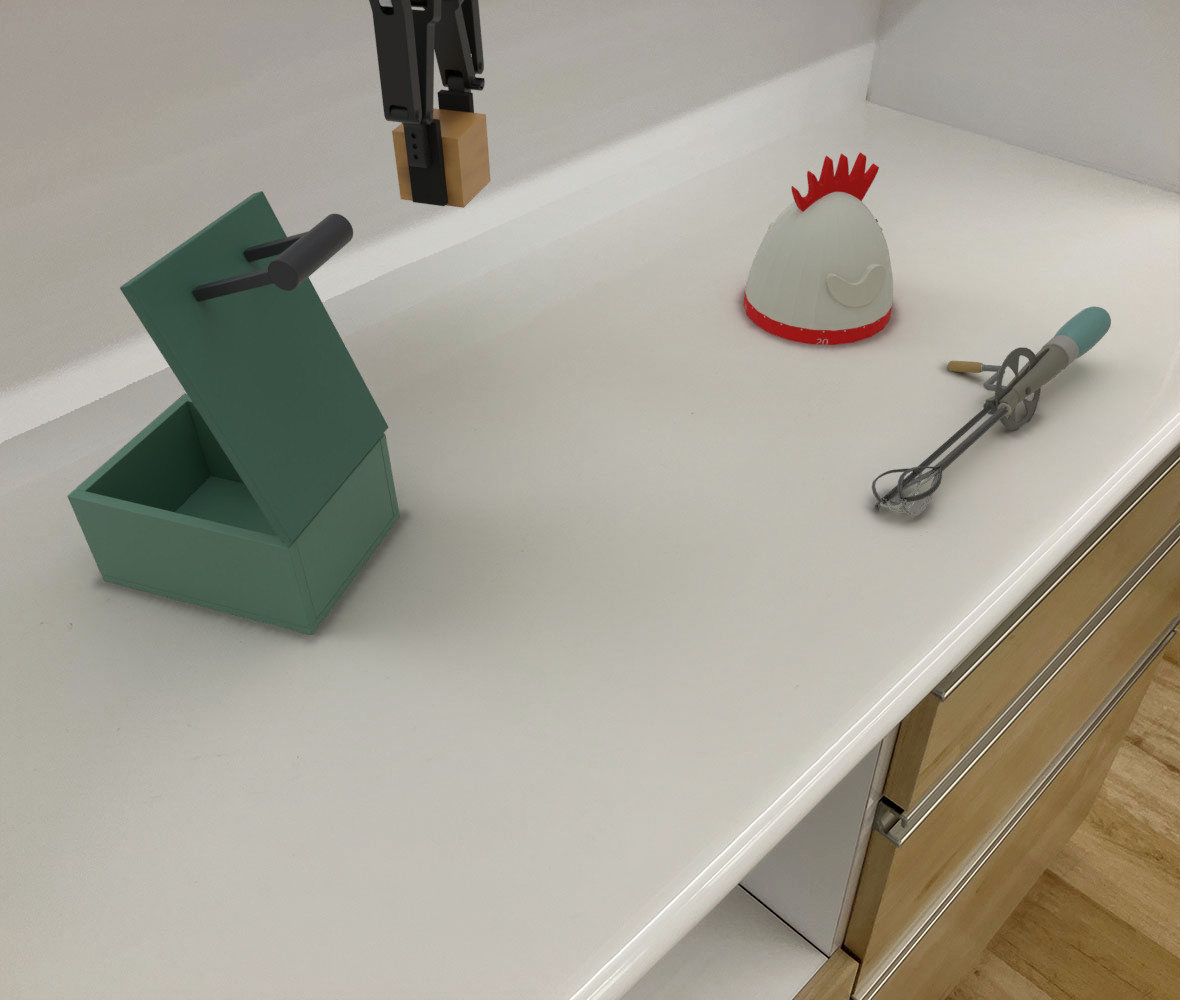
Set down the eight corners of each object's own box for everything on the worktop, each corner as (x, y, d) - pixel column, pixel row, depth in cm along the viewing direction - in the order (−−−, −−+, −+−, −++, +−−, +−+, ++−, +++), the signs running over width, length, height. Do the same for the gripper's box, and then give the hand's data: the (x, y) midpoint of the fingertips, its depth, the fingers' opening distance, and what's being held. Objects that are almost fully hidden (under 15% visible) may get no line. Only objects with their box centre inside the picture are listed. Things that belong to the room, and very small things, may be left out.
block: (400, 199, 83) (391, 130, 80) (429, 173, 87) (422, 106, 84) (463, 208, 82) (457, 138, 78) (490, 181, 86) (486, 113, 82)
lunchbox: (104, 582, 73) (66, 495, 68) (210, 476, 82) (184, 393, 77) (312, 637, 69) (288, 548, 64) (400, 518, 78) (385, 433, 73)
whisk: (807, 525, 83) (787, 453, 80) (1016, 346, 98) (1005, 280, 95) (923, 550, 75) (904, 471, 72) (1131, 351, 90) (1123, 279, 87)
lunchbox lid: (118, 287, 55) (234, 256, 51) (253, 193, 64) (360, 160, 60) (282, 543, 64) (391, 534, 60) (380, 428, 73) (480, 413, 69)
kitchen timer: (918, 330, 97) (951, 174, 88) (785, 358, 94) (804, 198, 84) (842, 265, 108) (864, 119, 98) (720, 288, 104) (730, 139, 95)
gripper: (402, -122, 62) (441, 242, 77) (516, -166, 76) (530, 150, 90) (290, -128, 64) (350, 229, 79) (421, -170, 77) (451, 141, 92)
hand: (446, 186), depth 84 cm, fingers closed on block, 5 cm apart
